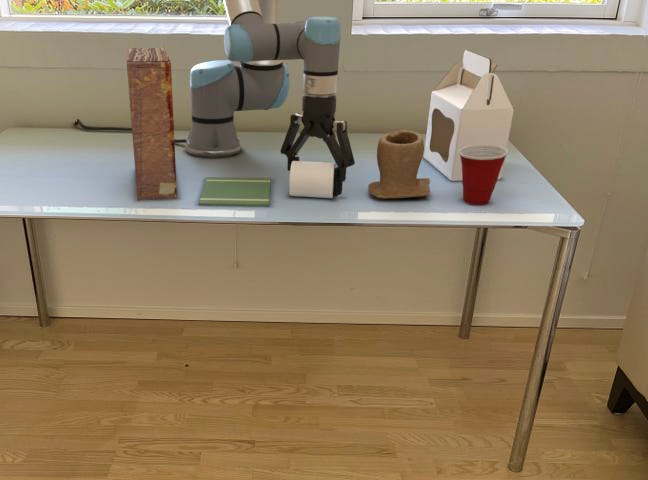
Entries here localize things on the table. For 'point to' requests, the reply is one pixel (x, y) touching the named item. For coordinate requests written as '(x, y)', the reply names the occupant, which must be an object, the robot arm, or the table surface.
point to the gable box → (466, 114)
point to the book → (152, 122)
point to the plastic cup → (480, 171)
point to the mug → (311, 179)
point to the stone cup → (400, 166)
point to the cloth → (236, 191)
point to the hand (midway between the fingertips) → (315, 190)
